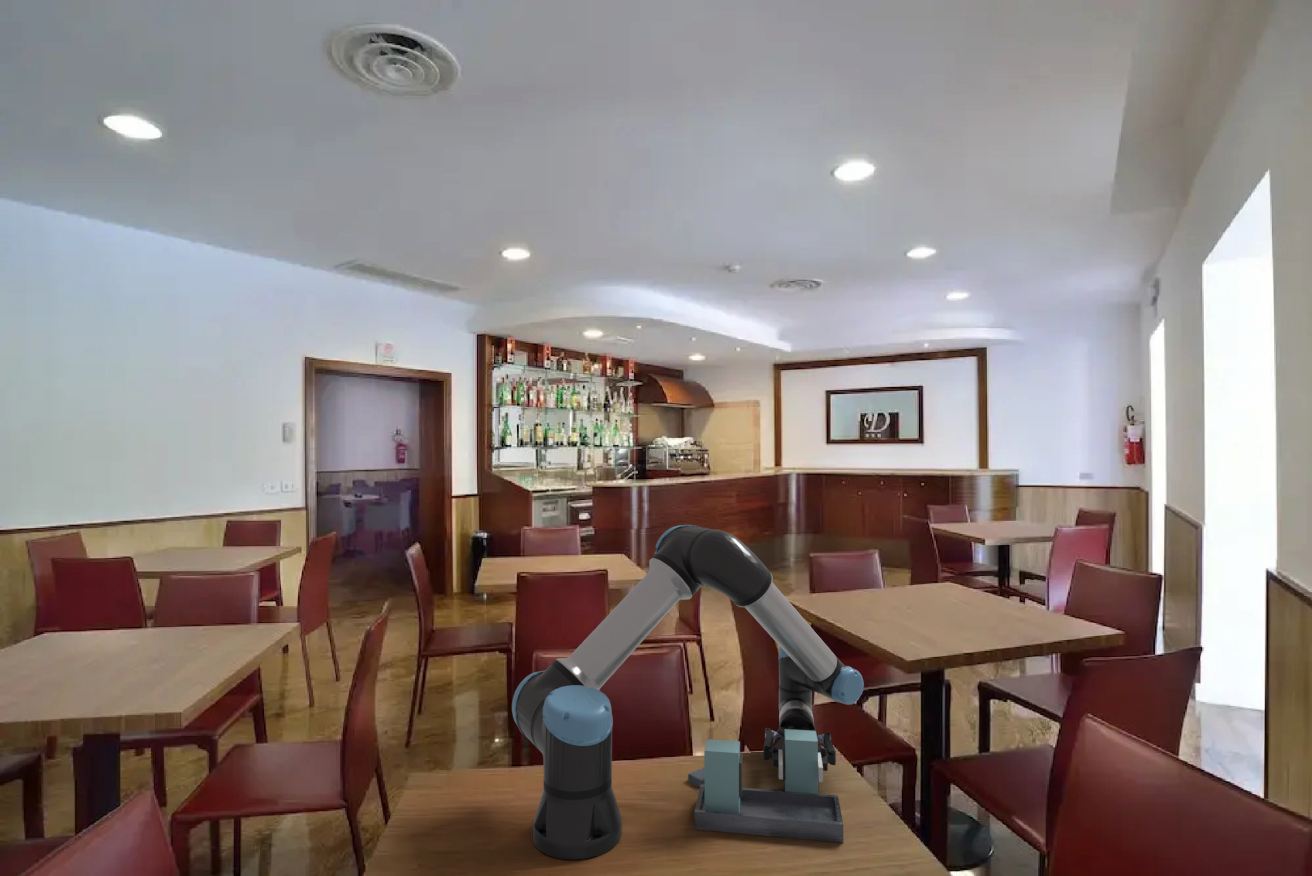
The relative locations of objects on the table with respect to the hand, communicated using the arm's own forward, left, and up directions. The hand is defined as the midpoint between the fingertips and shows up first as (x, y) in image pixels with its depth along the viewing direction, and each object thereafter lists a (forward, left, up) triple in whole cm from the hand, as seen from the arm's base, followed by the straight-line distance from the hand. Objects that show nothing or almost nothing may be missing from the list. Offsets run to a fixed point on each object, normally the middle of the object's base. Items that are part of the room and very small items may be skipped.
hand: (800, 773), depth 126 cm
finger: (0, +5, -6) cm, 8 cm away
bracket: (-17, +9, -7) cm, 20 cm away
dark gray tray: (-6, -6, -6) cm, 10 cm away
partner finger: (-14, -6, -5) cm, 16 cm away
